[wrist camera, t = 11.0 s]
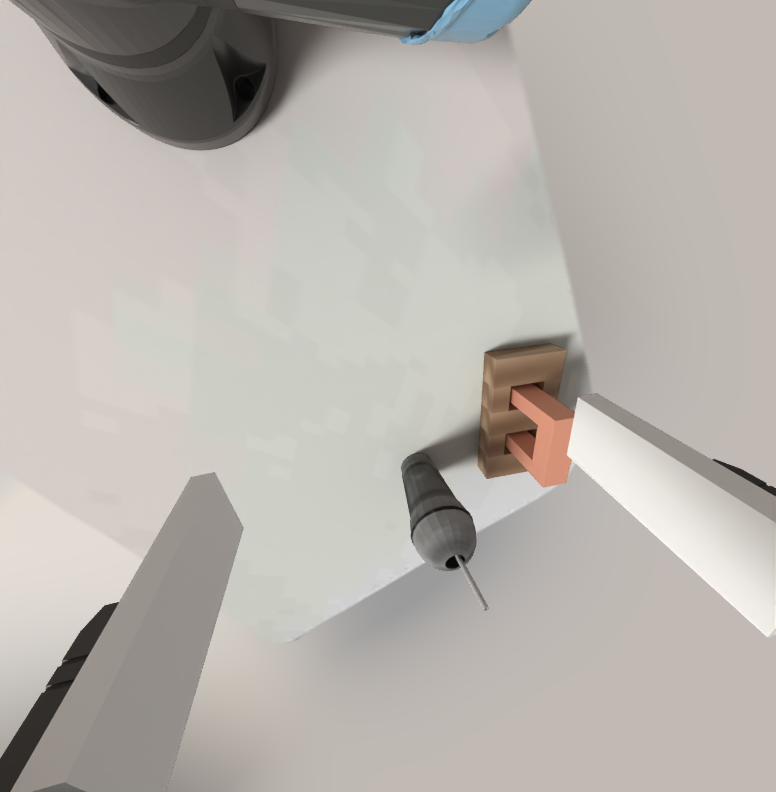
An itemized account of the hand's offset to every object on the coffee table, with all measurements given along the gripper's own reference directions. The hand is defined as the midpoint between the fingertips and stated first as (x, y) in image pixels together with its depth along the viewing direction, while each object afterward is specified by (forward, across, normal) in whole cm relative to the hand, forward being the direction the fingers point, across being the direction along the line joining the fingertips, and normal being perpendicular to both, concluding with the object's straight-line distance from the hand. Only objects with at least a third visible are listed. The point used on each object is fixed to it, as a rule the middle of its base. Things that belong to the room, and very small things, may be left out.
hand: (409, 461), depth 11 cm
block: (+25, +19, -17) cm, 36 cm away
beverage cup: (+25, +5, -23) cm, 35 cm away
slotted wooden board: (+25, +19, -17) cm, 36 cm away
